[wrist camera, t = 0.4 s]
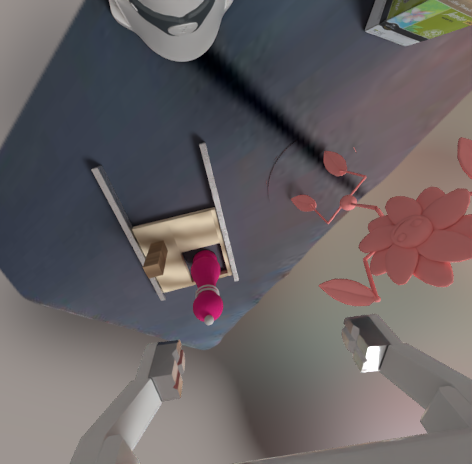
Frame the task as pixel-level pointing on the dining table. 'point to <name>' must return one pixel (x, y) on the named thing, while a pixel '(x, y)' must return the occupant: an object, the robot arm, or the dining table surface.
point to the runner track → (128, 227)
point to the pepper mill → (206, 287)
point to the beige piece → (178, 246)
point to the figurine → (405, 234)
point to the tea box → (417, 19)
